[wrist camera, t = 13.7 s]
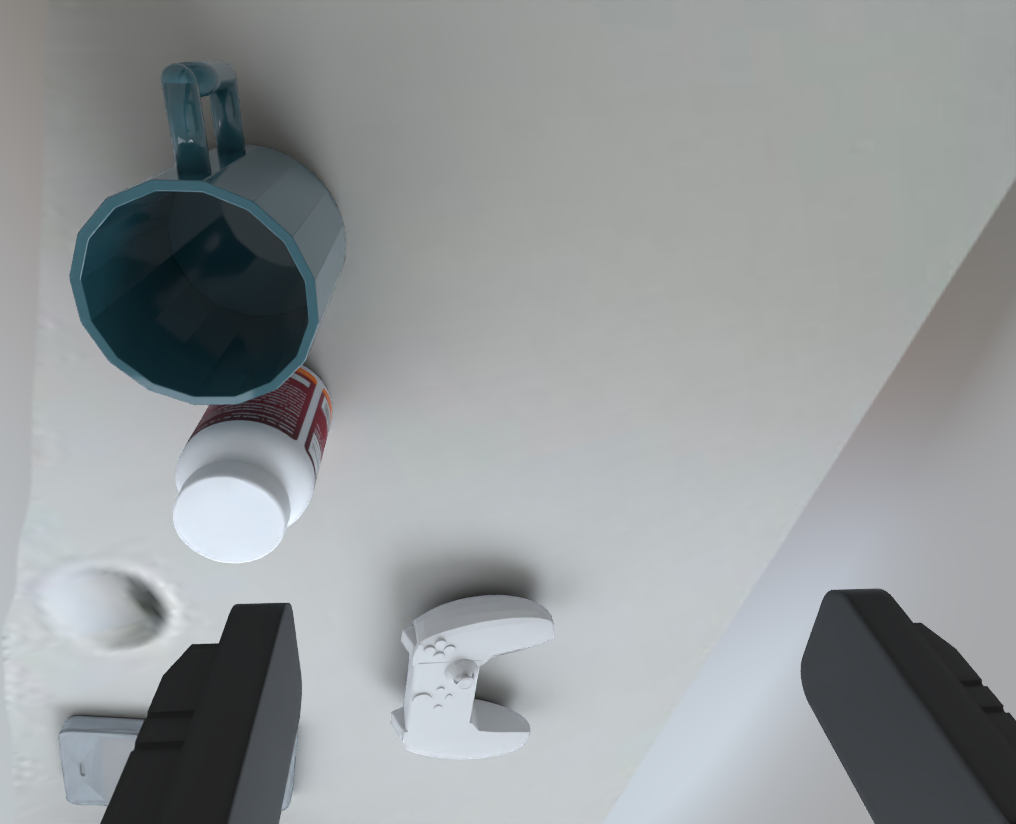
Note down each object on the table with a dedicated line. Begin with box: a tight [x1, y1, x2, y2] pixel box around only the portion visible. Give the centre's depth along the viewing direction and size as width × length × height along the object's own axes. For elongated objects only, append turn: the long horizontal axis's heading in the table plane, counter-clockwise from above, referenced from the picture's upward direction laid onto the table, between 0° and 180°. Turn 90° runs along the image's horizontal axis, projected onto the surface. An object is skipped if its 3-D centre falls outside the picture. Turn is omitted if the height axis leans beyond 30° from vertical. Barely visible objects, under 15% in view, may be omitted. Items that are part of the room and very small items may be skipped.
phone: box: [59, 716, 298, 811], centre depth 52 cm, size 8×16×1 cm, turn 79°
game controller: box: [390, 595, 554, 759], centre depth 48 cm, size 14×4×10 cm
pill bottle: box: [173, 365, 332, 563], centre depth 35 cm, size 6×6×11 cm
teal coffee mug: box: [70, 60, 346, 405], centre depth 30 cm, size 12×9×10 cm
